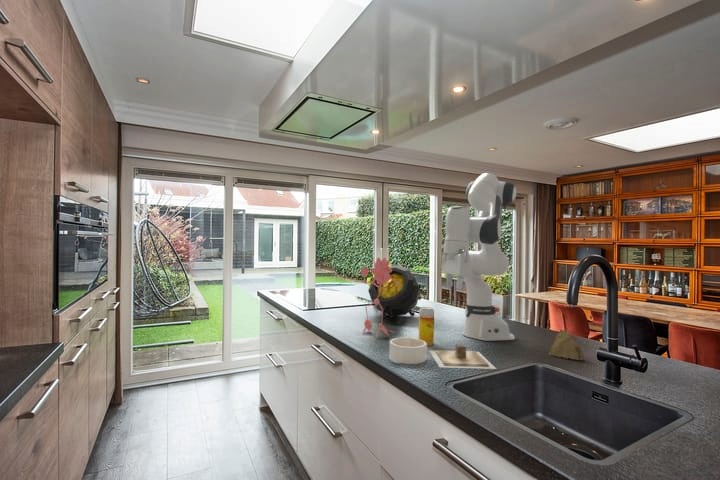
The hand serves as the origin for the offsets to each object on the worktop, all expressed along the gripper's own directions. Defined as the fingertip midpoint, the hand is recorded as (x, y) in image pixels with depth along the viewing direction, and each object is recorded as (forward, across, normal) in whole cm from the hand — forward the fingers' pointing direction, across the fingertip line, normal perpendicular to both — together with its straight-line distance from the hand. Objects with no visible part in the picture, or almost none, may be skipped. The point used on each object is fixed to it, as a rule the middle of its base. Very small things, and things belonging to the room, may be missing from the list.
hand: (454, 287), depth 133 cm
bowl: (+27, +2, +15) cm, 31 cm away
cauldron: (+24, +78, +6) cm, 81 cm away
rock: (+24, +4, -47) cm, 52 cm away
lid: (+25, 0, -4) cm, 26 cm away
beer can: (+26, +21, +3) cm, 33 cm away
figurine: (+26, +39, +20) cm, 50 cm away
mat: (+26, 0, -4) cm, 26 cm away
